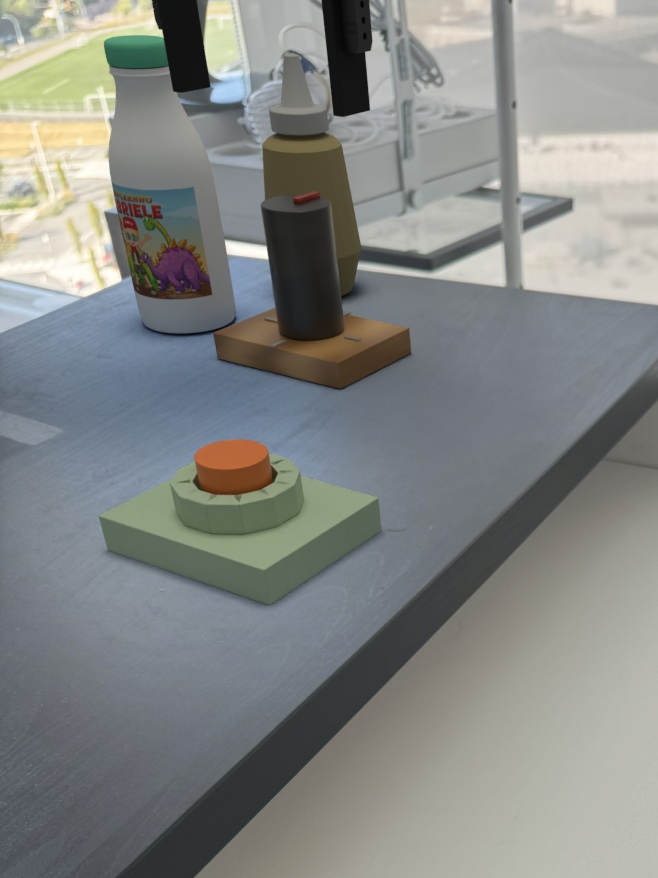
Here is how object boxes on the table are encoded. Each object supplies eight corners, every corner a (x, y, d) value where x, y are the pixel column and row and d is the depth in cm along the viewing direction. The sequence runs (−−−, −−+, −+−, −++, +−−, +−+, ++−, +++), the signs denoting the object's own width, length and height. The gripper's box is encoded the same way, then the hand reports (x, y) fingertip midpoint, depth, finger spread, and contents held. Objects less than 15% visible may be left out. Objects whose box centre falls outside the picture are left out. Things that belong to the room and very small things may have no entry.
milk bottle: (180, 301, 101) (126, 27, 88) (255, 313, 99) (212, 35, 86) (121, 328, 95) (55, 40, 83) (200, 341, 93) (145, 49, 81)
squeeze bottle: (256, 299, 102) (219, 59, 90) (300, 273, 108) (271, 45, 96) (340, 310, 100) (313, 66, 89) (380, 283, 106) (360, 52, 95)
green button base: (107, 550, 67) (89, 485, 64) (227, 485, 74) (216, 424, 71) (270, 606, 62) (258, 538, 60) (382, 531, 69) (375, 467, 67)
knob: (316, 344, 88) (299, 210, 82) (265, 332, 89) (244, 200, 83) (357, 326, 91) (344, 196, 85) (307, 314, 93) (290, 186, 87)
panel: (216, 359, 90) (211, 330, 89) (293, 325, 97) (289, 298, 95) (339, 390, 86) (336, 360, 85) (412, 353, 92) (410, 325, 91)
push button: (184, 488, 65) (178, 458, 64) (233, 462, 68) (228, 433, 67) (239, 505, 64) (234, 475, 62) (287, 478, 66) (283, 448, 65)
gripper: (440, -354, 60) (460, 114, 74) (97, -340, 69) (171, 73, 83) (347, -372, 55) (387, 134, 69) (-9, -355, 64) (88, 88, 78)
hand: (269, 101), depth 76 cm, fingers open, 13 cm apart
